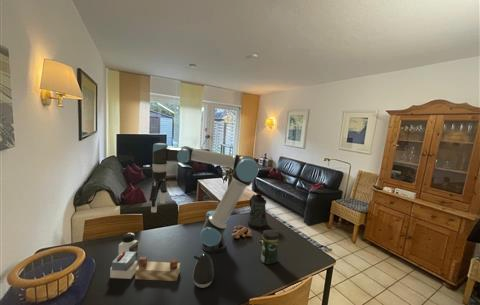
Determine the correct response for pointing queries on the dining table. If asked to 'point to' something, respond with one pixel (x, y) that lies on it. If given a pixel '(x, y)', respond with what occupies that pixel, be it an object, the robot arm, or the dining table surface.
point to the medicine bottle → (128, 243)
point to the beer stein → (257, 212)
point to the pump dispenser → (203, 271)
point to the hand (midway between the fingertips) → (158, 207)
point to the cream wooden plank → (157, 270)
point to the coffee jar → (269, 246)
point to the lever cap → (123, 261)
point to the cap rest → (124, 272)
